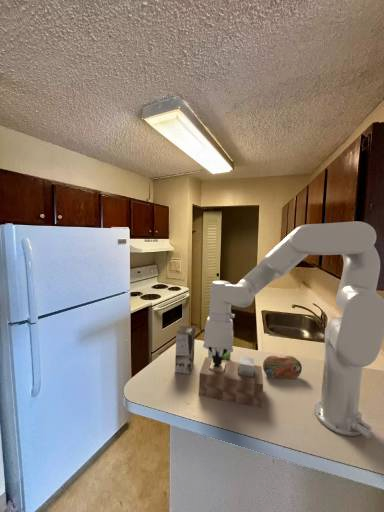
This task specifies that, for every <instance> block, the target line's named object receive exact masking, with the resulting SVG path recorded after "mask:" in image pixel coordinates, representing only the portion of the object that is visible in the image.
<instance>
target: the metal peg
mask: <svg viewBox="0 0 384 512" xmlns="http://www.w3.org/2000/svg"><path fill="white" fill-rule="evenodd" d="M238 363H239V370H238V375H239V376H245V377H251V378H253V374H254V365H255V359H254V357H253V358H251V357H246V356H239V358H238Z"/></svg>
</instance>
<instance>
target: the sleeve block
mask: <svg viewBox="0 0 384 512" xmlns="http://www.w3.org/2000/svg"><path fill="white" fill-rule="evenodd" d="M212 361H213V358H208V356H206V357H204V360H203V362H202V365H201V368H200V371H199V376H198V377H199V378H198V396H201V397H206V398H211V399H217V400H219V401H220V400H222V401H227V402H231V403H234V404H235V403H237V404H241V405H245V406H249V407H255V408H260V409H262V408H263V396H264V378H263V366H262V365H256V364H254V374H253V378H251V377H245V376H239V375H238V370H239V361H232V360H230V361H226V360H222V362H224V363H225V373H222V372H217V371H211V370H210V365H211V362H212Z"/></svg>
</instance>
